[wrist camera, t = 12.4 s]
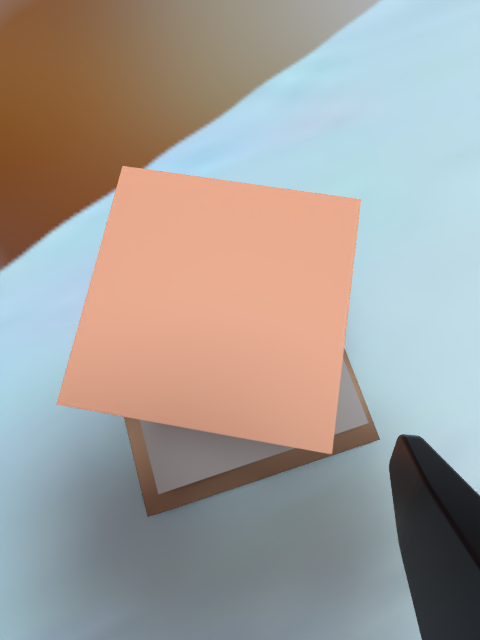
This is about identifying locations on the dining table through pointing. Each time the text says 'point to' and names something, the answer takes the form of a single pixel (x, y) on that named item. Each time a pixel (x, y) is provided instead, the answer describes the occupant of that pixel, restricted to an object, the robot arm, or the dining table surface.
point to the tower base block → (241, 474)
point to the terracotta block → (218, 309)
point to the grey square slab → (225, 444)
